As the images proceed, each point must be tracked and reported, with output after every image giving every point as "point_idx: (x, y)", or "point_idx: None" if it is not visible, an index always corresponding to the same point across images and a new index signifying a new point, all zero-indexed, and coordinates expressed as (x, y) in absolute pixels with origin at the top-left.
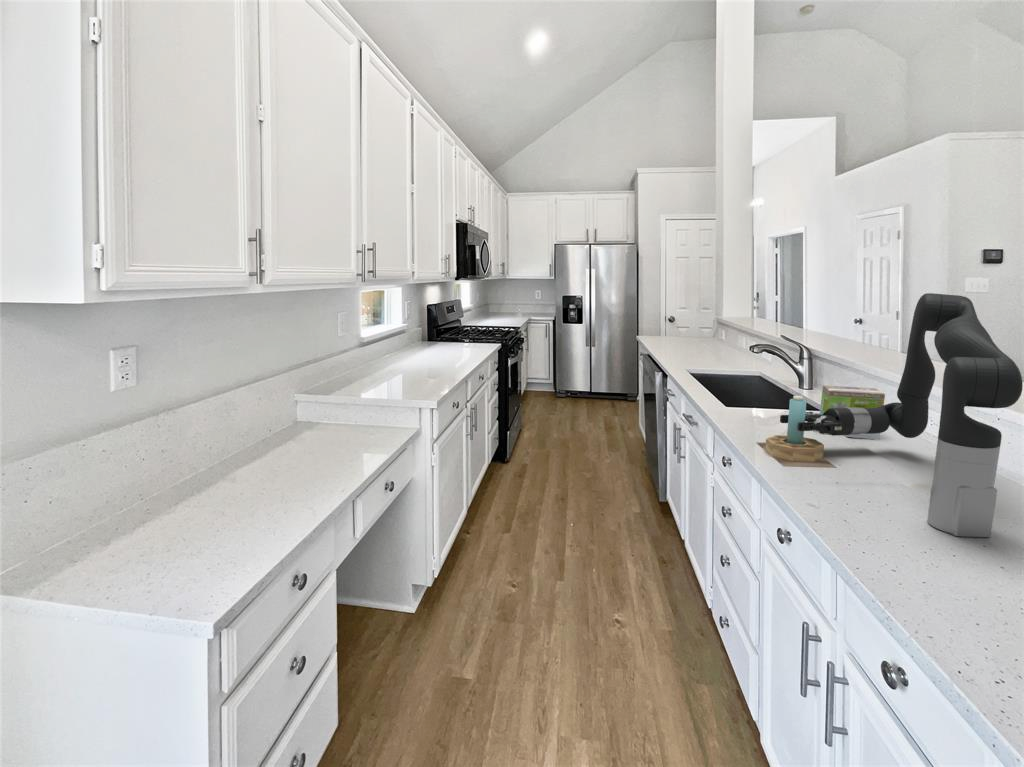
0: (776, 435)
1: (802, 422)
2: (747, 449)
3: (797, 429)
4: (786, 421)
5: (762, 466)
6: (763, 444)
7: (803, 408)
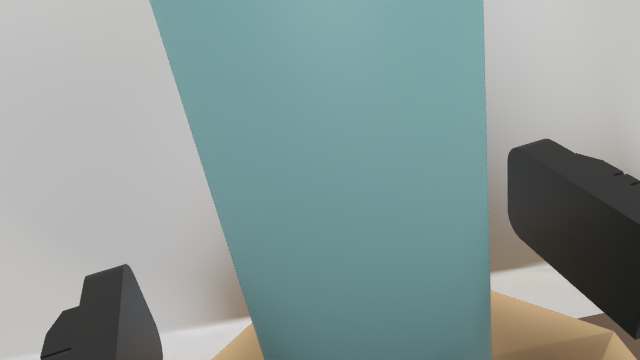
0: (601, 336)
1: (105, 295)
2: (535, 287)
3: (157, 332)
4: (552, 246)
5: (180, 346)
6: (634, 343)
7: (185, 102)
